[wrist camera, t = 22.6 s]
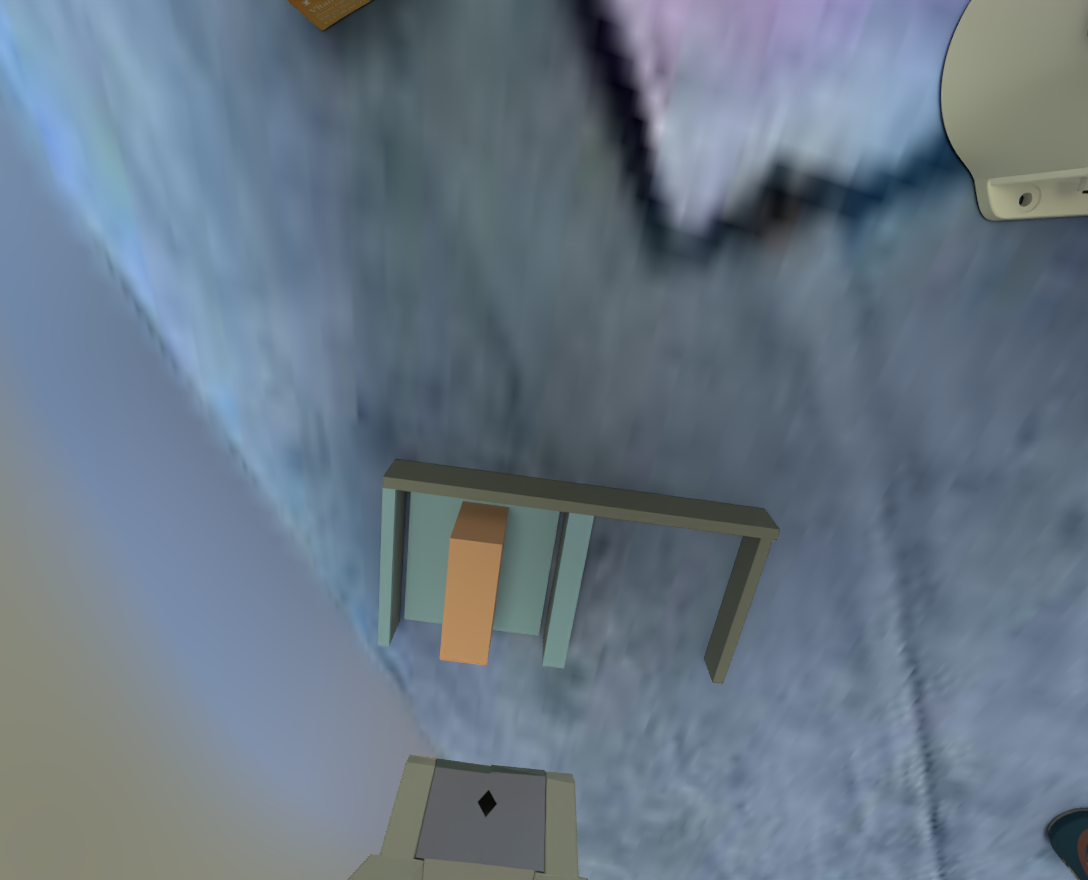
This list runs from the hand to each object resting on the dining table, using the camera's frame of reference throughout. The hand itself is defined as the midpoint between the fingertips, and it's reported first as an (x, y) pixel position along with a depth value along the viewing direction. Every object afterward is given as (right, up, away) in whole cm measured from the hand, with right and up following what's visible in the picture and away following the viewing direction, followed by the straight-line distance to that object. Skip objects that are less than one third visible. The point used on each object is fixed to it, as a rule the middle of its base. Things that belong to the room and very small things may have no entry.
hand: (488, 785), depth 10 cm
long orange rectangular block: (-5, -5, +38) cm, 39 cm away
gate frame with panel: (+3, -6, +39) cm, 39 cm away
